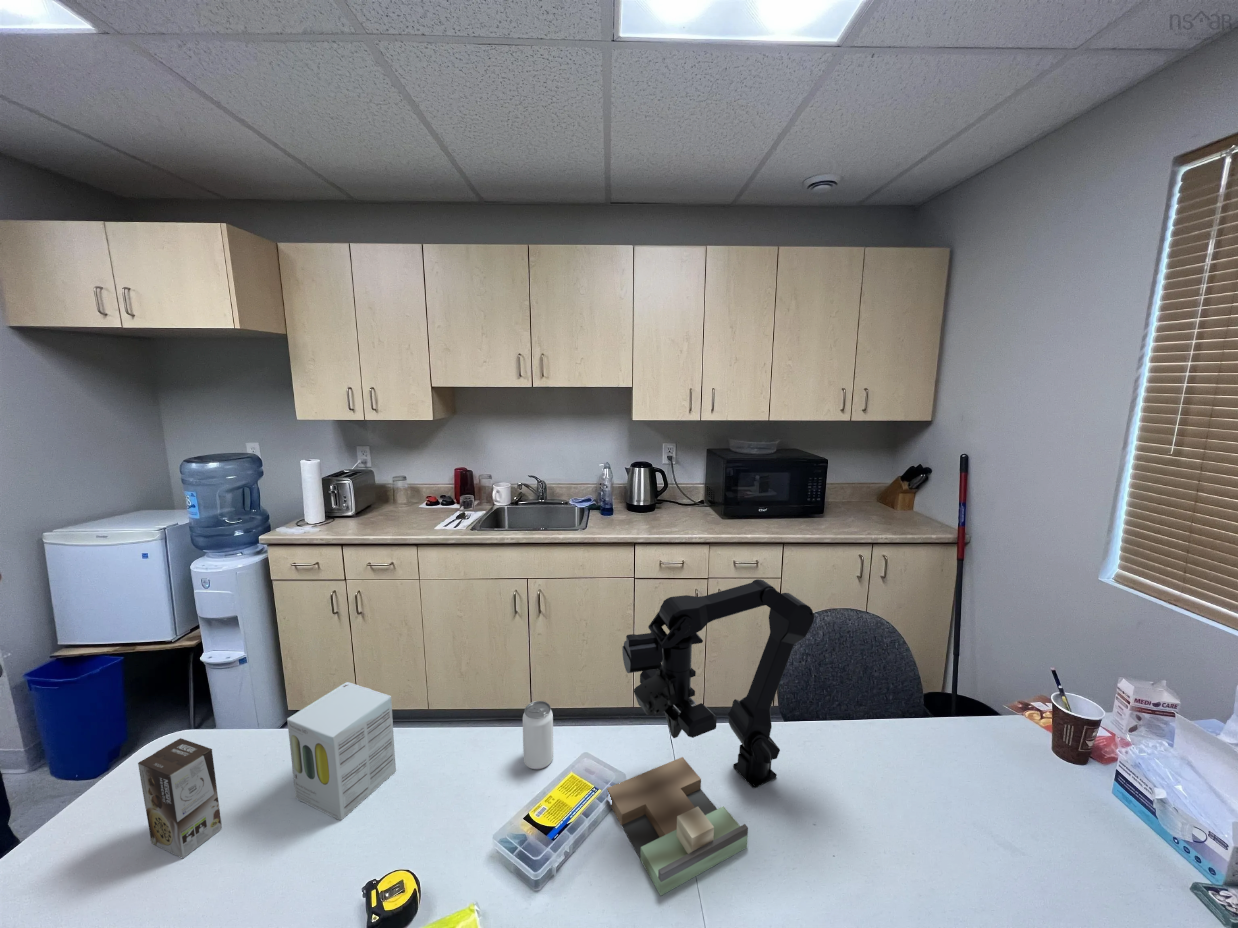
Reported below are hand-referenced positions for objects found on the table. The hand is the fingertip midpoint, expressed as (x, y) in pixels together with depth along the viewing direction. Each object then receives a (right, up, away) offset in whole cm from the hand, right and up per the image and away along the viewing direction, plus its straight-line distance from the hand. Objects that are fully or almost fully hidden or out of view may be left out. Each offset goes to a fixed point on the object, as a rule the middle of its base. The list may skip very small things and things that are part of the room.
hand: (674, 736), depth 92 cm
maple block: (+2, -11, -12) cm, 17 cm away
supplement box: (-67, -12, +3) cm, 68 cm away
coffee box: (-89, -13, -9) cm, 90 cm away
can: (-29, -11, +10) cm, 32 cm away
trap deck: (-1, -13, -5) cm, 14 cm away
